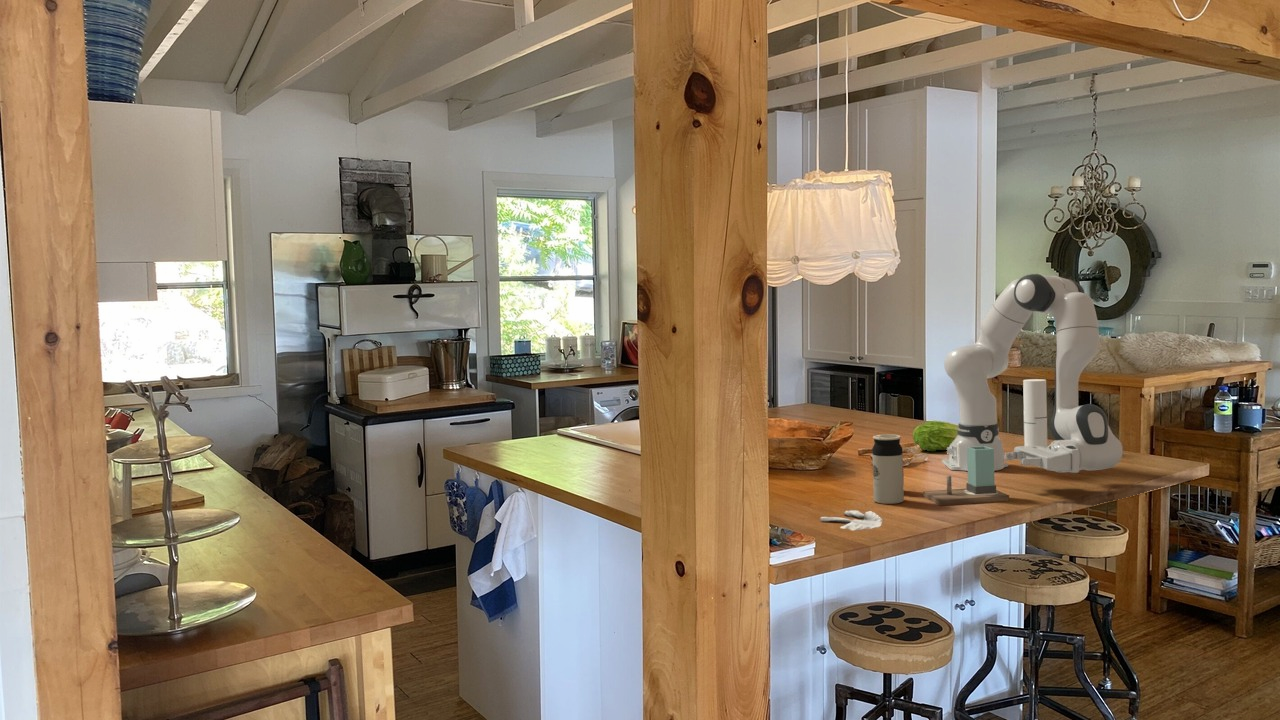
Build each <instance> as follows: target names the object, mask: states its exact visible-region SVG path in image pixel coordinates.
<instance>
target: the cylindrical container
mask: <svg viewBox="0 0 1280 720" xmlns="http://www.w3.org/2000/svg"><path fill="white" fill-rule="evenodd" d="M1022 382H1023V383H1022V384H1023V385H1022V388H1023V391H1022V392H1023V429H1024V430H1023V432H1024V434H1023V435H1024V436H1023V437H1024V438H1023V439H1024V446H1042V447H1045V448H1047V446H1048V413H1047V412H1048V410H1047V409H1048V408H1047V406H1048V404H1047V401H1048V400H1047V398H1048V397H1047V379H1043V378H1042V379H1041V378H1040V379H1039V378H1031V379H1030V378H1029V379H1023V380H1022Z"/></svg>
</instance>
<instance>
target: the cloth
mask: <svg viewBox="0 0 1280 720" xmlns="http://www.w3.org/2000/svg"><path fill="white" fill-rule="evenodd" d="M843 515H844V516H845V517H850V518H856V519H850V518H845V517H838V516H837V517H836V516H820V518H819V519H820V523H837V524H838V523H839V524H845V525H842V526H840V527H839V528H840V529H841V530H842V529H843V530H850V531H862V530H871V529H876V528H880V527H882V525H883V521H884V519H882V517H880V515H878V514H877V513H876V512H873V511H871V510H869V511H865V513H862V512H860V510H853V509H851V510H845V511H844V512H843Z"/></svg>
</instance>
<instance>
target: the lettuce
mask: <svg viewBox="0 0 1280 720" xmlns="http://www.w3.org/2000/svg"><path fill="white" fill-rule="evenodd" d="M958 426H959V425H958V424H955V423H952V422H951V423H950V422H948V421H941V420H928V421H926V422H923V423H922V424H919V425H918V426H916V427H915V428H914V430H913V432H912V440H913V443H914V444H915V445H916V444H918V445H919V446H920V448H921V449H920V448H919V449H920V450H922V451H925V450H927V451H926V452H930V451H931V452H937V451H936V450H947V447H949V446H950V444H951V443H952V442H953V441H954V440H955V438H956V437H957V436H958V434H957V432H958Z"/></svg>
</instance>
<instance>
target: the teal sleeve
mask: <svg viewBox="0 0 1280 720" xmlns="http://www.w3.org/2000/svg"><path fill="white" fill-rule="evenodd" d="M967 466H968V471H967V482H966V485H965V486H966V487H965V488H967V491H969V492H972V493H974V494H988V493H996V490H997V485H996V483H995V471H994V449H993V448H990V447H987V446H978V447H967Z"/></svg>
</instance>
